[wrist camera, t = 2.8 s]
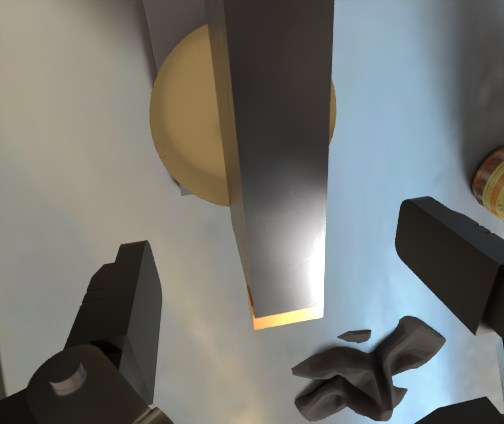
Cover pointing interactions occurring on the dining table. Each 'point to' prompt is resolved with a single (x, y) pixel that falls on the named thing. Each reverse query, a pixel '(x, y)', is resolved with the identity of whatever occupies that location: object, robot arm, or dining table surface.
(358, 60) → the dining table surface
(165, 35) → the grey base fixture
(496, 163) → the sauce bottle
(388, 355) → the cloth
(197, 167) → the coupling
